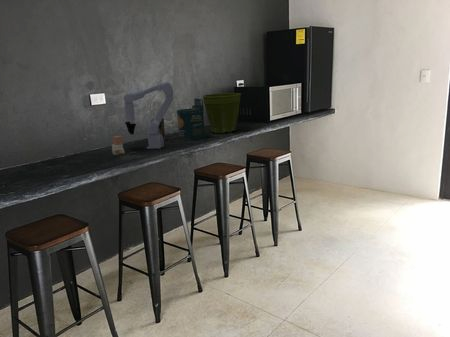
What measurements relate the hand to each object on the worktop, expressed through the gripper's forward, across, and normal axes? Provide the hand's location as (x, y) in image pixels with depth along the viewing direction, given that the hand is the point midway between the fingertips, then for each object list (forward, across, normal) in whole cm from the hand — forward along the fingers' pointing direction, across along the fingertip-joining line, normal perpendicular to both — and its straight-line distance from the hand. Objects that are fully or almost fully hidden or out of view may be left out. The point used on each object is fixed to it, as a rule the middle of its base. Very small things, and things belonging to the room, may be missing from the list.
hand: (131, 133), depth 246 cm
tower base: (+11, +7, -10) cm, 17 cm away
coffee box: (+10, -18, +22) cm, 30 cm away
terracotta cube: (+5, +7, -10) cm, 13 cm away
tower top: (+8, +8, -10) cm, 15 cm away
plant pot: (+8, -26, +75) cm, 79 cm away
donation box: (+9, -13, +44) cm, 47 cm away
